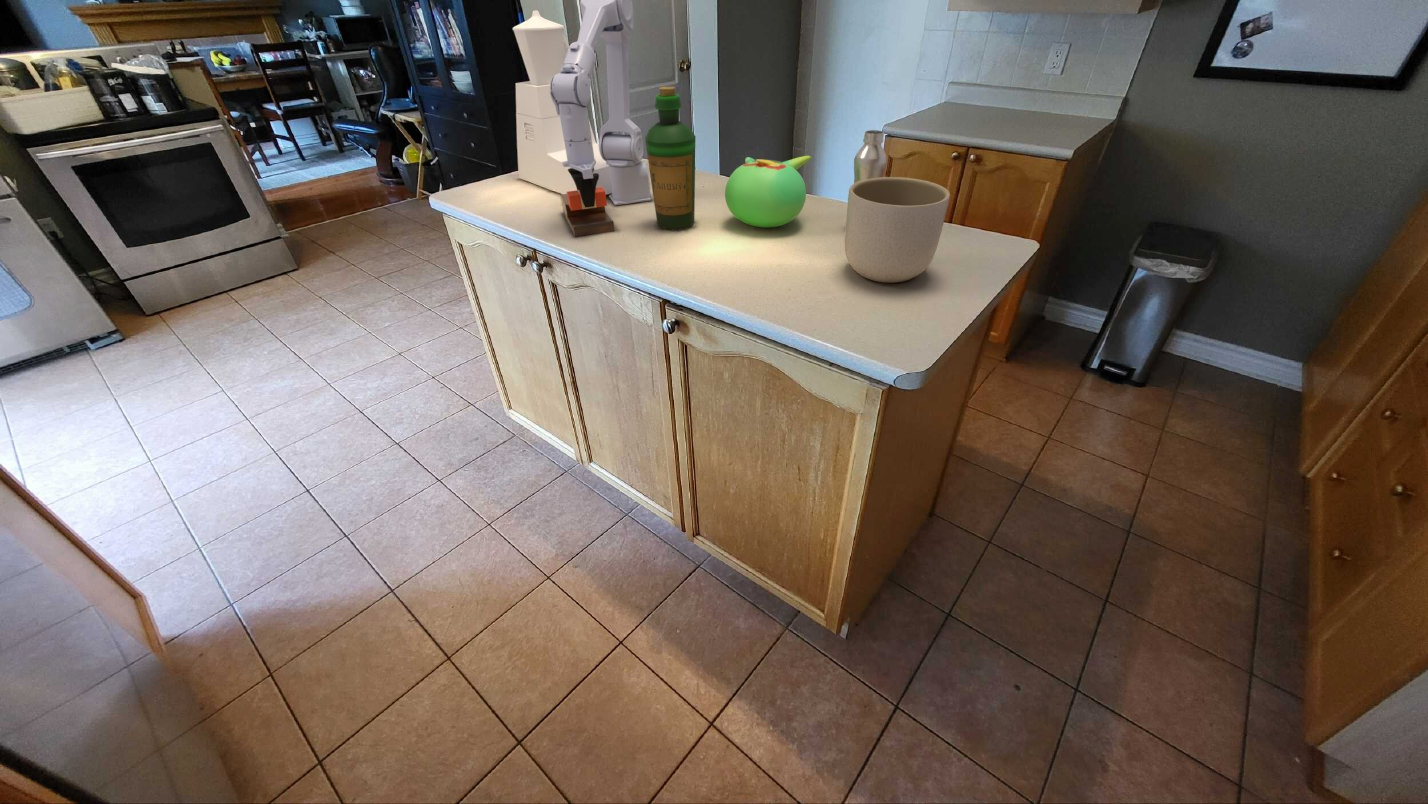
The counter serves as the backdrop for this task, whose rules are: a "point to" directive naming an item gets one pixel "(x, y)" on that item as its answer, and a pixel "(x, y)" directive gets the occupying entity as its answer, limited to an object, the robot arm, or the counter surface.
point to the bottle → (671, 164)
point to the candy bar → (577, 202)
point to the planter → (893, 226)
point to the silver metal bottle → (870, 157)
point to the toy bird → (766, 191)
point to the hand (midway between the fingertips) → (587, 203)
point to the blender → (545, 110)
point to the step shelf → (586, 219)
